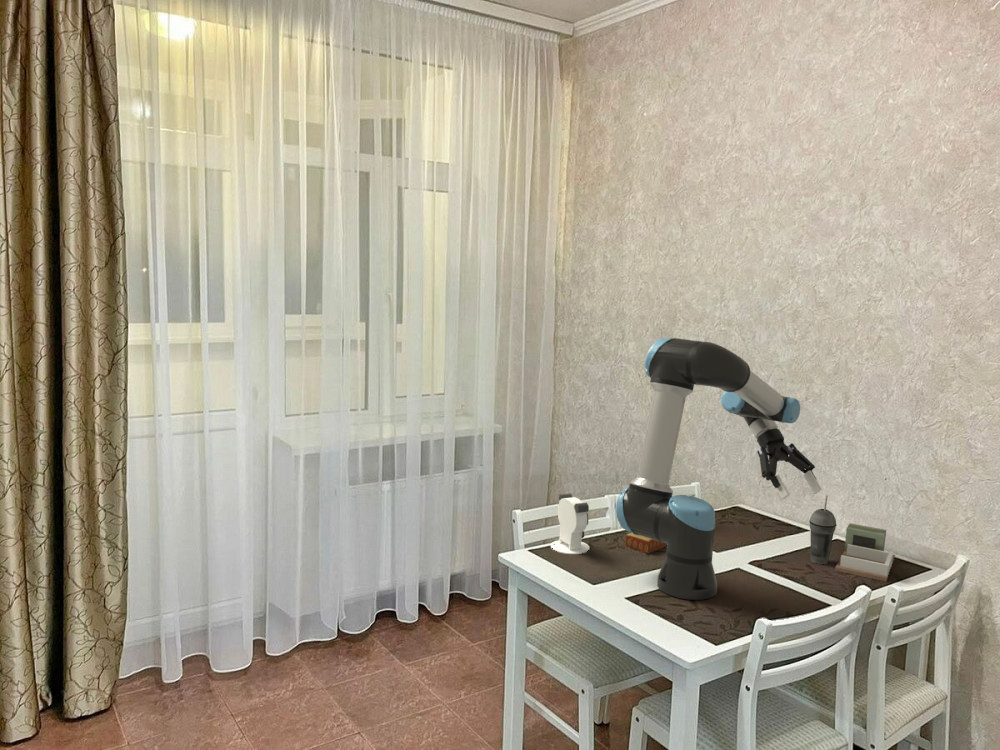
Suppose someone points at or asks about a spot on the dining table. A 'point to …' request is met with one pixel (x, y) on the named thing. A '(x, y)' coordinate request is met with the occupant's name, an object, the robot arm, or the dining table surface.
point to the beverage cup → (821, 534)
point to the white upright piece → (571, 525)
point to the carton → (642, 543)
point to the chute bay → (865, 564)
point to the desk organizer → (867, 539)
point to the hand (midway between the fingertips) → (802, 494)
